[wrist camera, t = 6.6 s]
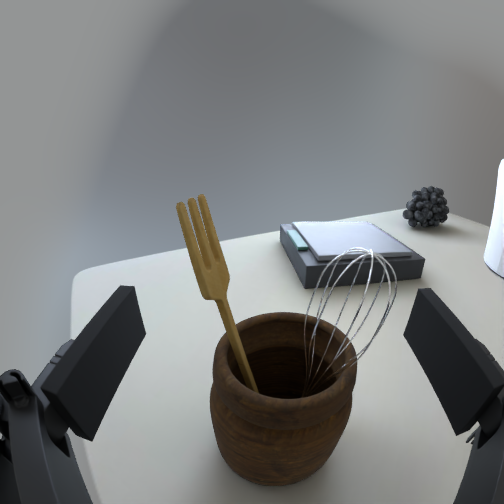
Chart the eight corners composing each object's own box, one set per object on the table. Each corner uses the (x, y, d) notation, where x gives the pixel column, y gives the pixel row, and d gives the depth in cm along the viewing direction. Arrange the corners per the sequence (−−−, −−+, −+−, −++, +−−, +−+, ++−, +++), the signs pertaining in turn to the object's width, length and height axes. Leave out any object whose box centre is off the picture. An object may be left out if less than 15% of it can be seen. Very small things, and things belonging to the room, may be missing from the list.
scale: (304, 288, 27) (307, 260, 26) (279, 240, 40) (280, 220, 39) (420, 278, 28) (426, 254, 27) (370, 238, 41) (373, 219, 40)
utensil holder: (319, 499, 8) (445, 265, 4) (193, 466, 10) (119, 225, 5) (339, 411, 13) (392, 198, 9) (237, 389, 15) (228, 183, 11)
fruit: (416, 183, 41) (450, 184, 46) (385, 189, 49) (423, 188, 54) (422, 231, 42) (455, 223, 47) (390, 232, 50) (428, 224, 55)
